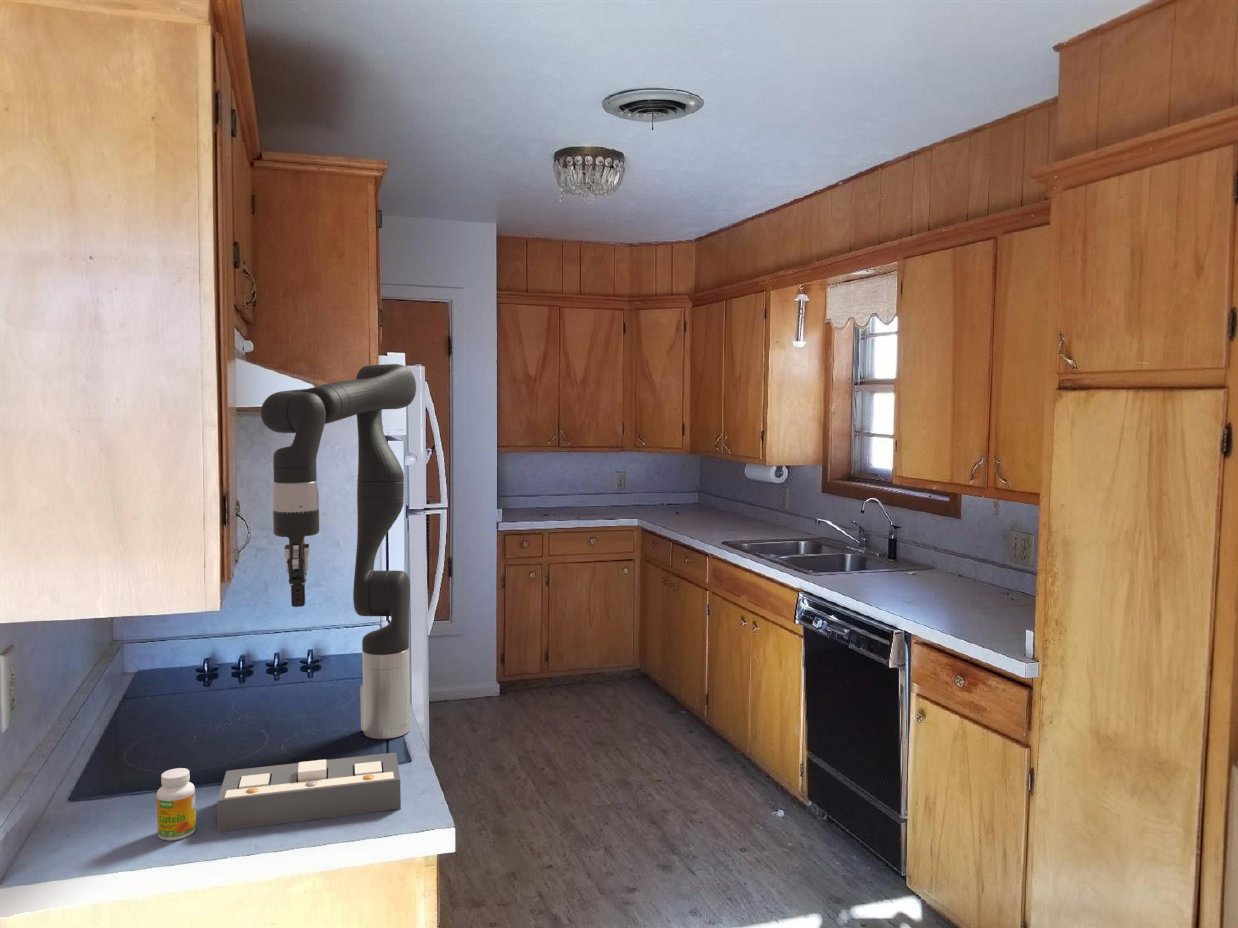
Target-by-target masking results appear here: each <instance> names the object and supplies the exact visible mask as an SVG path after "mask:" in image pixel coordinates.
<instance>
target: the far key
mask: <svg viewBox="0 0 1238 928" xmlns="http://www.w3.org/2000/svg"><path fill="white" fill-rule="evenodd" d="M376 773H382V766H381V761H377V762H368V763H359V764H355V776H358V775H367V774H376Z"/></svg>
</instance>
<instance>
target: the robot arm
mask: <svg viewBox="0 0 1238 928" xmlns="http://www.w3.org/2000/svg"><path fill="white" fill-rule="evenodd" d="M356 374H357V375H356V376H355V377H356V378H355V379H347V380H340V381H333V382H329V383H323V384H320V385H316V386H314V387H311V388H310V387H309V388H303V389H302V388H301V389H289V390H282V391H277V392H274V393H272V394H270V395H269V396H268V397H267V398H266V399H265V400H264V401H263V403H262V405H261V408H260V417H261V420H262V422H263V424H264V425H265V427H266V428H267V429H269V430H270V431H273V432H274V433H280V434H295V435H294V439H293V441H292V443H291V445H289V446H285V447H280V448H278V449H276V450H275V451H274V453H273V457H272V458H273V491H272V516H273V517H272V519H273V521H272V522H273V534H274V535H275V537H279V538H288V544H285V545H284V557H285V558H286V559H285V562H286V563H285V565H286V574H288V583H289V585H290V597H291V601H290V602H291V606H292V607H293V608H300V607H304V606H306V584H307V578H306V577H307V574H308V573H307V572H308V569H309V555H310V543H305V537H310V536H311V537H312V536H315V535H317V534H319V532H320V501H319V500H320V497H319V488H318V483H317V482H318V481H317V480H318V478H317V477H318V475H317V473H318V472H317V458H318V457H317V456H318V453H319V448H320V444H321V439H322V435H323V432H324V429H325V425H327V424H331V423H334V422H338V421H341V420H344V419H347V418H350V417H353V416H356V421H357V423H356V425H357V437H358V439H357V441H358V443H357V445H358V447H357V448H358V457H357V458H358V461H357V463H358V465H357V481H356V482H357V484H356V487H357V488H356V489H357V490H356V498H357V499H356V503H357V504H356V505H357V507H356V508H357V535H356V536H357V537H356V538H357V539H356V540H357V541H356V542H357V543H356V554H355V567H354V576H353V578H354V579H353V588H352V589H353V591H352V598H353V599H352V600H353V608H354V611H355V613H356V614H357V615H358V616H360V617H390V623H388V624H387V625H385V626H384V627H382V628H379V629H376V630H373V631H372V630H371V632H369V633H366V634H365V635H364V636H363V637H362V641H361V645H362V646H361V647H362V648H361V651H362V652H361V653H362V658H361V660H362V684H360V688H359V691H360V693H359V694H360V730H361V731H363V734H364V736H366V737H367V738H370V739H376V740H388V739H394V738H399V737H401V736H404V735H406V734H408V733H409V732H410V730H411V705H410V703H411V701H410V700H411V696H410V695H411V694H410V691H411V690H410V688H411V687H410V606H411V605H410V604H411V603H410V602H411V601H410V600H411V583H410V577H409V575H408V573H407V572H406V571H404V570H374V569H375V561H376V556H377V553H378V551H379V548H380V545H381V544H382V542H383V541H384V539H385V537H386V535H387V533H389V531H390V529H391V528H392V527H393V525H394V523H395V522H396V520H398V517H399V516H400V514H401V512H402V510H403V507H404V503H405V502H404V501H405V500H404V499H405V497H404V496H405V476H404V475H405V474H404V471H403V468H402V465H401V464H400V461H399V460H398V458H397V457H396V455H395V453H394V451H393V449H392V448H391V446H390V445H389V443H388V440H387V439H386V435H385V433H384V429H383V428H384V427H383V417H382V415H383V413H382V410H398V409H402V408H403V409H404V408H406V407H408V406H410V405H411V403H413V401H414V399H415V397H416V394H417V393H416V392H417V383H416V378H415V375H414V373H413V372H412V370H411V369H410V368H409V367H408V366H406V365H403V364H397V363H392V364H391V363H389V364H387V363H386V364H370V365H369V364H368V365H365V366H362V367H360V369H359V370H358V372H357V373H356Z"/></svg>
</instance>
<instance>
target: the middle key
mask: <svg viewBox="0 0 1238 928" xmlns="http://www.w3.org/2000/svg"><path fill="white" fill-rule="evenodd" d="M326 760H327V759H317V760H309V761H308V760H307V761H299V762H298V763H299V766H298V782H305V781H314V780H323V779H326V778H327V769H326Z"/></svg>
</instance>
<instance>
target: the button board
mask: <svg viewBox="0 0 1238 928" xmlns="http://www.w3.org/2000/svg"><path fill="white" fill-rule="evenodd" d="M397 756H398V755H397V752H388V753H380V754H378V753H377V754H371V755H362V756H361V755H360V756H359V755H358V756H352V757H343V758H333V759H326V769H327V778H326V779H323V780H314V781H305V782H298V766H299V762H295V763H287V764H278V765H269V766H260V767H259V766H258V767H248V768H240V769H231V770H226V772H225V774H224V778H223V781H222V784H221V787H220V790H219V794H218V796H217V797H218V798H217V800H216V802H217V803H216V804H217V805H216V806H217V832H218V833H219V832H225V831H226V832H227V831H233V830H240V829H250V828H256V827H257V828H259V827H264V826H265V827H266V826H273V825H281V823H283V824H289V823H297V822H304V821H305V822H306V821H307V822H308V821H313V819H315V820H321V819H322V818H323V819H330V818H336V817H337V818H338V817H345V815H347V816H353V814H354V815H355V816H356V815H360V813H363V814H368V813H369V814H370V813H377V812H384V811H391V810H390V809H394V810H401V809H402V808H401V806H402V803H401V798H402V797H401V796H402V795H401V794H402V793H401V776H400V770H399V762H398V757H397ZM377 761H381V766H382V773H376V774H367V775H358V776H355V764H359V763H368V762H377ZM267 773H270V786H261V787H252V788H243V789H239V785H240V781H241V777H242V776H249V775H258V774H267Z"/></svg>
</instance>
